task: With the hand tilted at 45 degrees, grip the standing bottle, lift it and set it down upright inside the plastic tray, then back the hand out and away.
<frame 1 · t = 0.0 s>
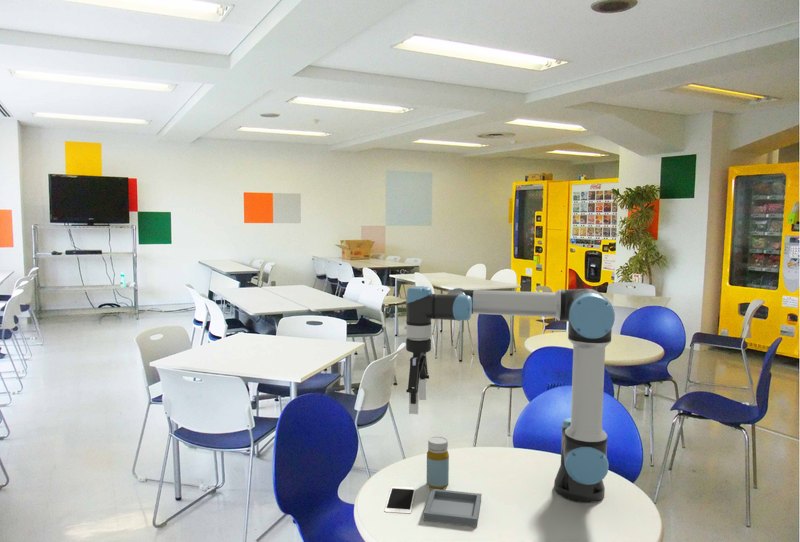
hand: (418, 406, 178), 28 cm above the table, tool pointing down, fingers open, 13 cm apart
tray: (453, 510, 170), on the table
bottle: (437, 486, 186), on the table
cell phone: (400, 501, 177), on the table
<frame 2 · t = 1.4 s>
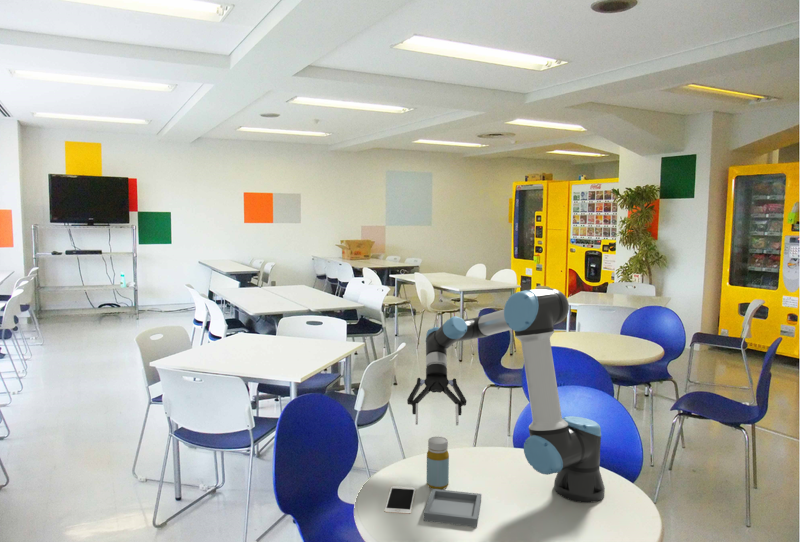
hand: (436, 423, 195), 17 cm above the table, tool tilted 45°, fingers open, 13 cm apart
nothing on the table moved.
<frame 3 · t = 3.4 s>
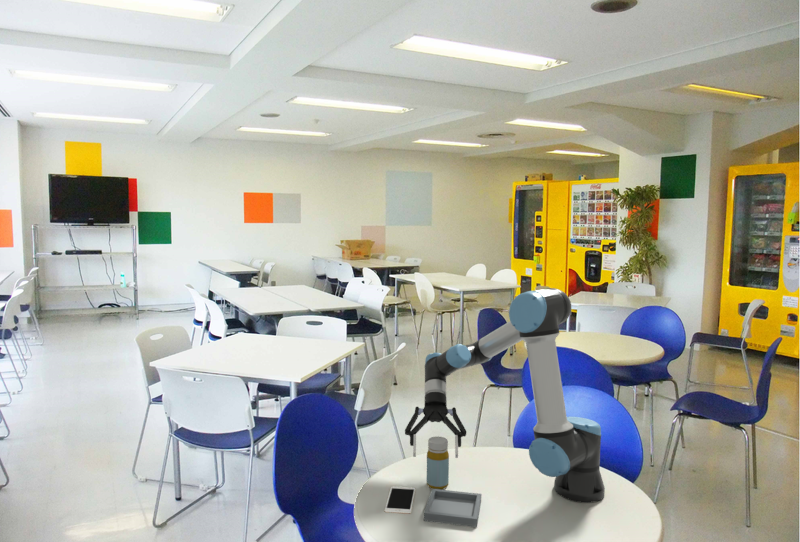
hand: (435, 455, 187), 9 cm above the table, tool tilted 45°, fingers open, 13 cm apart
nothing on the table moved.
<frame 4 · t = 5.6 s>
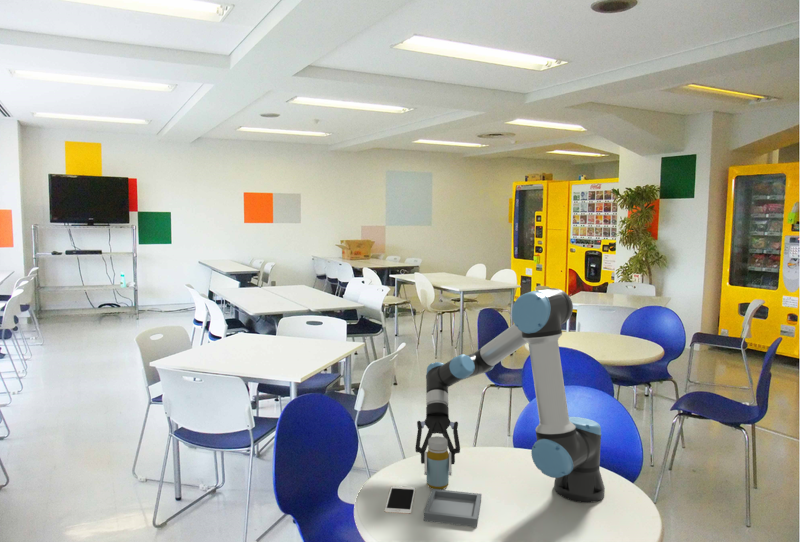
hand: (437, 473, 182), 6 cm above the table, tool tilted 45°, fingers closed on bottle, 7 cm apart
bottle: (437, 485, 186), on the table, touching gripper
everything else where it was.
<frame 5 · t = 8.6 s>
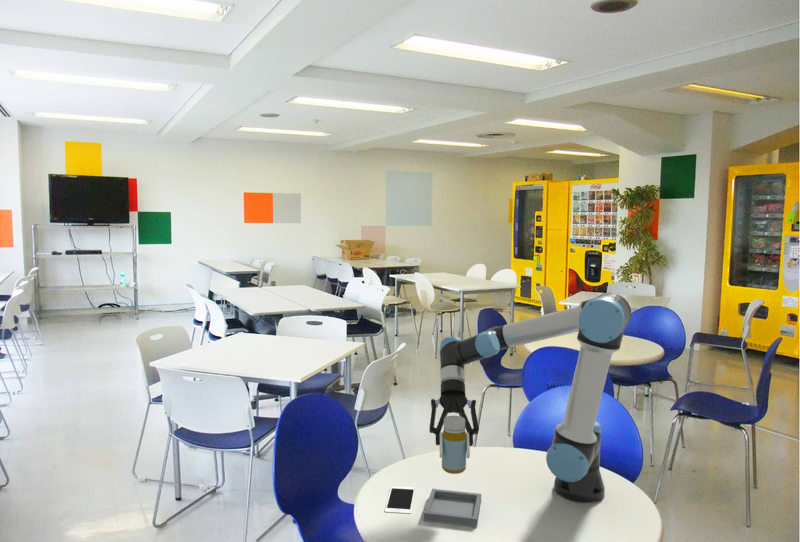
hand: (454, 455, 165), 18 cm above the table, tool tilted 45°, fingers closed on bottle, 7 cm apart
bottle: (453, 469, 169), point 12 cm above the table, touching gripper
everything else where it was.
when the fingers open (8 cm above the table, at t = 11.7 s): bottle drops 1 cm, resting on tray.
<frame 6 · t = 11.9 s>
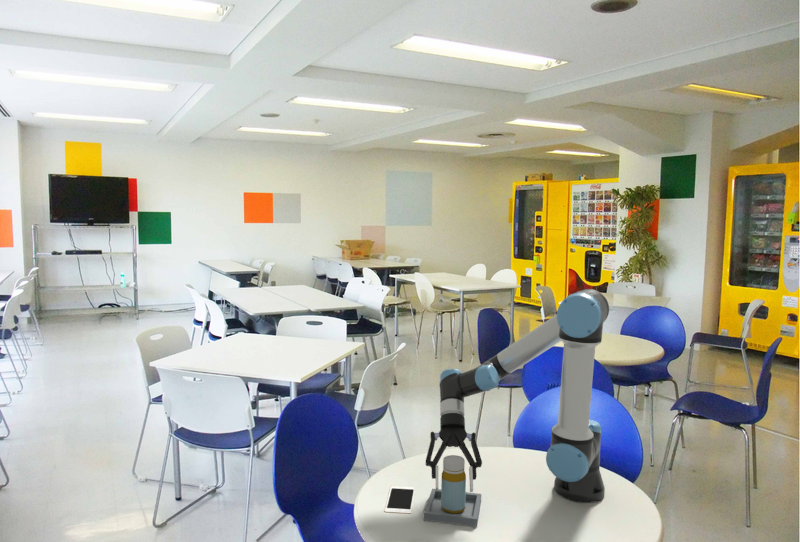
hand: (454, 490, 166), 8 cm above the table, tool tilted 45°, fingers open, 9 cm apart
bottle: (453, 509, 170), resting on tray
everything else where it was.
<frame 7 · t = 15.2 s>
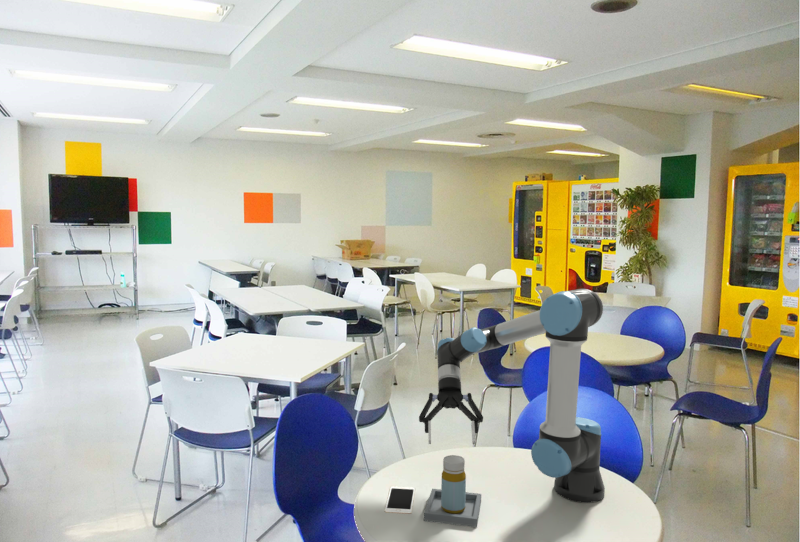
hand: (451, 442, 179), 16 cm above the table, tool tilted 45°, fingers open, 13 cm apart
nothing on the table moved.
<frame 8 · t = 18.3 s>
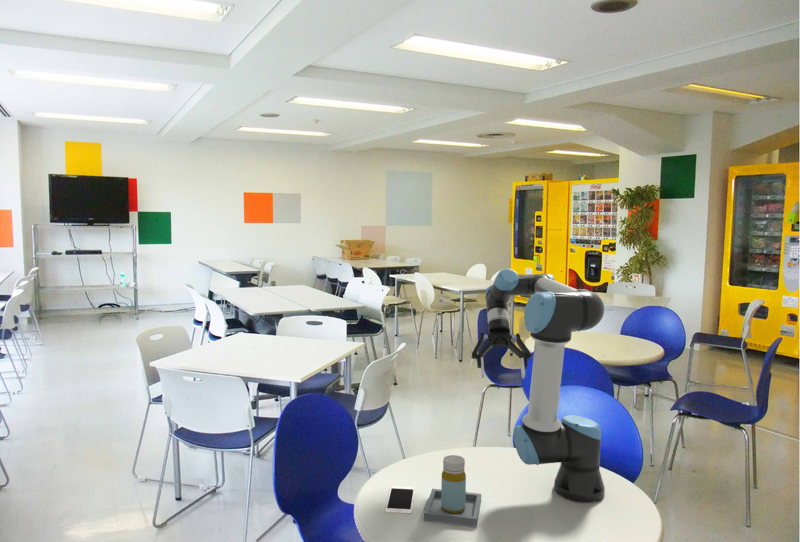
hand: (503, 376, 194), 33 cm above the table, tool tilted 45°, fingers open, 13 cm apart
nothing on the table moved.
at the end: bottle inside the target area on the tray (0.1 cm from its centre), point 0.4 cm above the tray's base; bottle tilted 0°; the gripper is holding nothing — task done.
